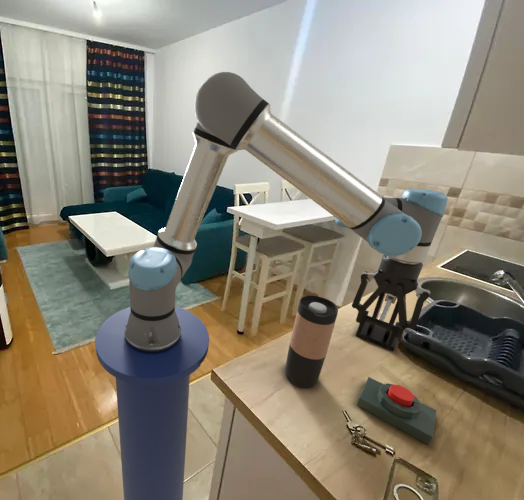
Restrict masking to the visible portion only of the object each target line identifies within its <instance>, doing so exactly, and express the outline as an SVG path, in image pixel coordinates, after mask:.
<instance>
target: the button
mask: <svg viewBox="0 0 524 500" xmlns="http://www.w3.org/2000/svg"><path fill="white" fill-rule="evenodd" d="M388 396H389V398H390V399H391V400H392V401H393V402H395V403H397V404H399V405H401V406H404V407H410V406H411V405H412V403H413V401H414V396H415V394H414V393H413V392H412V391H411V390H410V389H408V388H406V387H405V386H403V385H400V384H394V385H391V386H390V389H389V391H388Z"/></svg>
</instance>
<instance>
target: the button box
mask: <svg viewBox="0 0 524 500" xmlns="http://www.w3.org/2000/svg"><path fill="white" fill-rule="evenodd" d="M391 385H395V384H394V383H382V382H380V381H378V380H375V379H374V378H372V377H370V376H368V377H367V379H366V382H365V384H364V386H363V388H362V391H361V393H360V395H359V398H358V400H357V403H356V406H357V407H360V408H361V409H363V410H365V411H366V412H369V413H370V414H372V415H374V416H375V417H377V418H378V419H381V420H383V421H385V422H386V423H388V424H390V425H392V426H393V427H395V428H397V429H399V430H401V431H403V432H404V433H406V434H408V435H409V436H411V437H413V438H415V439H417V440H419V441H421V442H422V443H424V444H425V445H430V443H431V442H432V440H433V437H434V431H435V425H436V424H435V422H436V415H437V409H435V408H433V407H431V406H429V405H427V404H426V403H423V402H421V401H420V400H419V399H418V397H417V396H416V395H414V401H413V403H412V405H411V406H410V407H404V406H401V405H399V404H397V403H395V402H393V401H392V400H391V399H390V398H389V396H388V391H389V389H390V386H391Z"/></svg>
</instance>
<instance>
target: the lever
mask: <svg viewBox="0 0 524 500" xmlns="http://www.w3.org/2000/svg"><path fill="white" fill-rule="evenodd" d="M384 302H385V303H384V306H383V308H382V310H381V311H380V313H379V314H380V315H379V316H378V318H377V319H376V318H374V317H372V316H371V315H369V314H368V315H367V316H366V319H365V321H366V322H368V323H371V324H374V325H376V326H379V327H381V328H384V329H387V330H389V331H392V332H393V329H394V327H395V324H394V325H392V324H390V323H389V322H387V321H385V319H386V317H387V314H388V313H389V310H390V307H391V306H392V304H393V305H395V304H396V302H397V297H395V296H393V295H391V294H386V295H385V298H384Z"/></svg>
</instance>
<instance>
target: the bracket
mask: <svg viewBox="0 0 524 500" xmlns="http://www.w3.org/2000/svg"><path fill="white" fill-rule="evenodd" d="M386 295H387V294H386V293H383V292H382V293H381V294H380V295H379V296H378V297H377V301H376V303H375V308H374V310H373V312H372V316H371V317H374V318H376V319H379V316H380V315H379V314H380V313H381V309H382V306H383V303H384V302H385V298H386ZM397 317H398V302H397V301H396V302H395V304H394V309H393V310H392V313H391V316H390V319H389V321H388V323H390V324H392V325H395V323H396V319H397ZM356 334H357V332H356ZM356 334H355V336H356V337H358V338H361V339H363V340H366V341H368V342H371V343H373V344H375V345H378V346H380V347H382V348H385V349H387V350H390V351H392V352H394V350H395V347H396V345H397V343H398V340H399V338H396V337H395V338H394V340H393V343H392V345H391V348H390V349H388V348H386V347H387V345H388V342H389V340H390V337H391V334H392V331H389V330H387V329H384V328H381V327H379V326H376V325H374V324H371V323H368V322H366V321H365V324H364V327H363V330H362V333H361V334H360V336H357V335H356Z"/></svg>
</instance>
